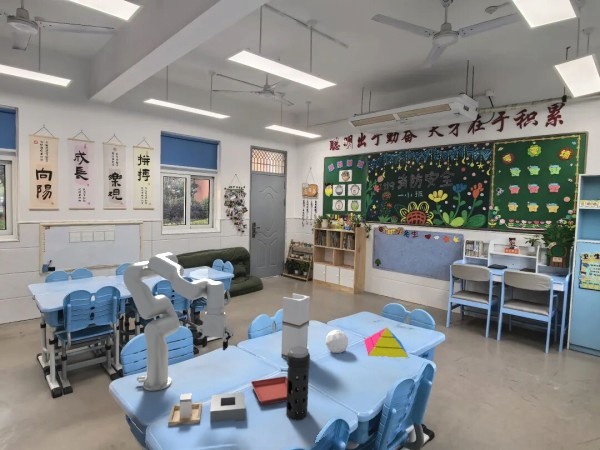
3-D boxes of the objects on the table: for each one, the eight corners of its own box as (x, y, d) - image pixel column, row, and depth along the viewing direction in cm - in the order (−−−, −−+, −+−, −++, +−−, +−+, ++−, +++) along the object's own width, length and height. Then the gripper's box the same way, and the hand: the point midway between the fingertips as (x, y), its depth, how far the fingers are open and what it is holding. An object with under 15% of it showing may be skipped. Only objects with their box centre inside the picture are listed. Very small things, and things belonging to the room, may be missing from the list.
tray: (168, 427, 141) (168, 422, 141) (172, 409, 153) (172, 404, 153) (199, 424, 144) (199, 419, 143) (201, 406, 155) (201, 402, 155)
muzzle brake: (300, 404, 160) (281, 412, 153) (302, 343, 157) (282, 348, 151) (314, 414, 152) (294, 423, 146) (316, 350, 150) (296, 357, 144)
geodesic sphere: (335, 334, 227) (329, 321, 220) (355, 340, 219) (349, 326, 212) (325, 353, 219) (318, 340, 211) (345, 360, 211) (339, 347, 203)
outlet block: (210, 423, 144) (210, 411, 144) (211, 406, 156) (211, 394, 156) (245, 419, 147) (245, 408, 147) (243, 403, 159) (244, 392, 159)
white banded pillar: (308, 355, 209) (310, 296, 206) (298, 362, 200) (300, 300, 197) (291, 350, 215) (293, 293, 212) (281, 357, 206) (283, 297, 203)
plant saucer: (250, 387, 173) (250, 380, 173) (285, 381, 179) (286, 375, 179) (259, 408, 156) (259, 401, 156) (298, 401, 162) (298, 394, 162)
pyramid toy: (410, 359, 209) (412, 336, 208) (367, 357, 211) (368, 333, 210) (401, 342, 234) (402, 321, 233) (362, 340, 236) (363, 319, 234)
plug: (179, 418, 146) (179, 399, 145) (180, 412, 150) (181, 394, 149) (190, 417, 147) (191, 399, 146) (191, 411, 151) (192, 393, 150)
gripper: (193, 310, 156) (192, 348, 157) (230, 314, 152) (229, 353, 153) (201, 305, 163) (200, 342, 164) (237, 309, 159) (236, 346, 161)
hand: (214, 347), depth 159 cm, fingers open, 9 cm apart
